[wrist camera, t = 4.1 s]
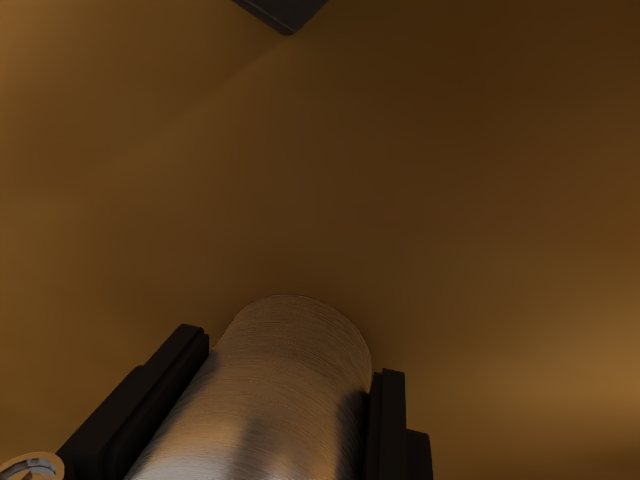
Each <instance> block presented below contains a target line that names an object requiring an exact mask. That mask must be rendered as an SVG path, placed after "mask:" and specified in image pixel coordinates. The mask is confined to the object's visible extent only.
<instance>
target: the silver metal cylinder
mask: <svg viewBox="0 0 640 480" xmlns="http://www.w3.org/2000/svg"><path fill="white" fill-rule="evenodd" d="M371 373H372V360H371V355H370V351H369V348H368V345H367V343H366V341H365V339H364V337H363V335H362V334H361V332H360V331H359V329H358V328H357V327H356V326H355V325H354V324H353V322H352V321H351V320H350V319H349V318H347V317H346V316H345V315H344V314H343V313H341V312H340V311H338V310H337V309H335V308H334V307H332V306H330V305H328V304H326V303H324V302H322V301H319V300H316V299H313V298H310V297H306V296H300V295H291V294H282V295H273V296H268V297H264V298H261V299H259V300H256V301H254V302H252V303H251V304H249V305H247V306H246V307H245V308H243V309H242V310H241V311H240V312H239V313H238V314H237V315H236V317H235V318H234V319H233V321H232V322H231V324H230V325H229V327H228V328H227V330H226V331H225V332H224V334H223V335H222V337H221V338H220V340H219V341H218V343H217V344H216V345H215V347H214V348H213V350H212V351H211V353H210V354H209V356H208V357H207V358H206V360H205V361H204V363H203V364H202V366H201V367H200V369H199V370H198V372H197V373H196V374H195V376H194V377H193V379H192V380H191V382H190V383H189V385H188V386H187V387H186V389H185V390H184V392H183V393H182V395H181V396H180V398H179V399H178V400H177V402H176V403H175V405H174V406H173V408H172V409H171V411H170V412H169V413H168V415H167V416H166V418H165V419H164V421H163V422H162V424H161V425H160V426H159V428H158V429H157V431H156V432H155V434H154V435H153V437H152V438H151V439H150V441H149V442H148V444H147V445H146V447H145V448H144V450H143V451H142V452H141V454H140V455H139V457H138V458H137V460H136V461H135V463H134V464H133V465H132V467H131V468H130V470H129V471H128V473H127V474H126V476H125V477H124V479H123V480H361V478H362V466H363V455H364V443H365V432H366V421H367V409H368V398H369V392H370V385H371Z"/></svg>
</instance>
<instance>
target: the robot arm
mask: <svg viewBox="0 0 640 480" xmlns="http://www.w3.org/2000/svg"><path fill="white" fill-rule="evenodd" d="M208 356H209V336H208V335H207V334H204V330H203V328H201V327H196V326H192V325H187V324H181V325H180V326H179V327H178V328H177V329H176V330H175V331H174V332H173V333H172V334H171V336H170V337H169V338H168V339H167V340H166V341H165V342H164V343H163V344H162V346H161V347H160V348H159V349H158V350H157V351H156V352H155V353H154V354H153V356H152V357H151V358H150V359H149V360H148V361H147V362H146V363H145V365H144V366H142V365H140V366H138V367H136V368H134V369H133V370H132V371H131V372H130V373H129V374H128V375H127V376H126V378H125V379H124V380H123V381H122V382H121V383H120V384H119V385H118V386H117V387H116V388H115V389H114V391H113V392H112V393H111V394H110V395H109V396H108V397H107V398H106V399H105V400H104V401H103V402H102V404H101V405H100V406H99V407H98V408H97V409H96V410H95V411H94V412H93V413H92V414H91V415H90V417H89V418H88V419H87V420H86V421H85V422H84V423H83V424H82V425H81V426H80V427H79V428H78V430H77V431H76V432H75V433H74V434H73V435H72V436H71V437H70V438H69V439H68V440H67V441H66V443H65V444H64V445H63V446H62V447H61V448H60V449H59V450H58V451H57V452H56V453H55V454H54V453H49V452H44V451H41V452H30V453H27V454H24V455H20V456H17V457H15V458H13V459H11V460H9V461H7V462H5V463H3V464H2V465H0V480H123V479H124V477H125V476H126V474H127V473H128V471H129V470H130V468H131V467H132V465H133V464H134V463H135V461H136V460H137V458H138V457H139V455H140V454H141V452H142V451H143V450H144V448H145V447H146V445H147V444H148V442H149V441H150V439H151V438H152V437H153V435H154V434H155V432H156V431H157V429H158V428H159V426H160V425H161V424H162V422H163V421H164V419H165V418H166V416H167V415H168V413H169V412H170V411H171V409H172V408H173V406H174V405H175V403H176V402H177V400H178V399H179V398H180V396H181V395H182V393H183V392H184V390H185V389H186V387H187V386H188V385H189V383H190V382H191V380H192V379H193V377H194V376H195V374H196V373H197V372H198V370H199V369H200V367H201V366H202V364H203V363H204V361H205V360H206V358H207V357H208ZM361 480H433V469H432V458H431V448H430V440H429V436H428V434H426V433H422V432H418V431H414V430H410V429H406V400H405V374H404V373H403V372H399V371H394V370H390V369H385V368H383V370H382V373H377V372H374V374H373V379H372V383H371V387H370V392H369V398H368V409H367V421H366V432H365V443H364V455H363V466H362V478H361Z"/></svg>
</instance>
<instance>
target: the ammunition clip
mask: <svg viewBox="0 0 640 480" xmlns="http://www.w3.org/2000/svg"><path fill="white" fill-rule="evenodd" d="M232 1H233V2H235V3H236V4H238V5H239V6H241V7H242V8H244V9H245V10H246V11H248V12H249V13H251V14H252V15H254V16H255V17H257V18H258V19H260V20H261V21H263V22H264V23H266V24H267V25H269V26H270V27H272V28H273V29H275V30H276V31H278V32H279V33H281V34H282V35H284V36H286V35H292V34H294V33H296V32H297V31H298V30H299V29H300V28H301V27H302V26H303V25H304V24H305V23H306V22H307V21H308V20H309V19H310V18H311V17H312V16H313V15H314V14H315V13H316V12H317V11H318V10H319V9H320V8H321V7H322V6H323V5H325V4H326V3H327V2H328V1H329V0H232Z"/></svg>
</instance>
